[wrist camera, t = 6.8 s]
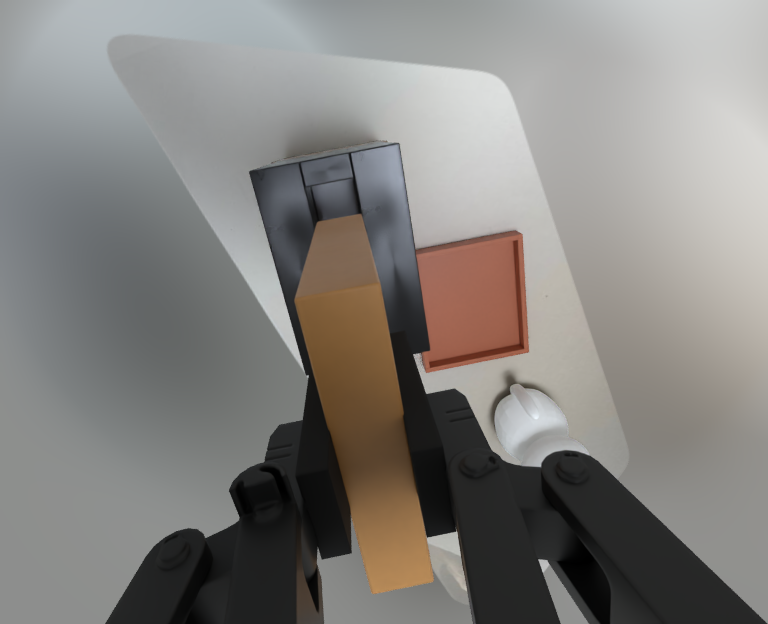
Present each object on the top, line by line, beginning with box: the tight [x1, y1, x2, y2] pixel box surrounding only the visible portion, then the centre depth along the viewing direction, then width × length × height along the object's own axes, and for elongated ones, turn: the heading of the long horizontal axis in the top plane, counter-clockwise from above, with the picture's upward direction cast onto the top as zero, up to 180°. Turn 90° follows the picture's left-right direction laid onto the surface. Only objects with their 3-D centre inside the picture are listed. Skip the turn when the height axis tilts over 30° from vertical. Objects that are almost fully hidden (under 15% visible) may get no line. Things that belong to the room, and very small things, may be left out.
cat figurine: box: [495, 384, 590, 467], centre depth 53 cm, size 9×12×15 cm
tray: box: [416, 230, 529, 373], centre depth 53 cm, size 15×13×2 cm
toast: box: [294, 214, 434, 594], centre depth 16 cm, size 10×2×10 cm, turn 10°
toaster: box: [249, 141, 431, 375], centre depth 39 cm, size 16×10×22 cm, turn 10°
